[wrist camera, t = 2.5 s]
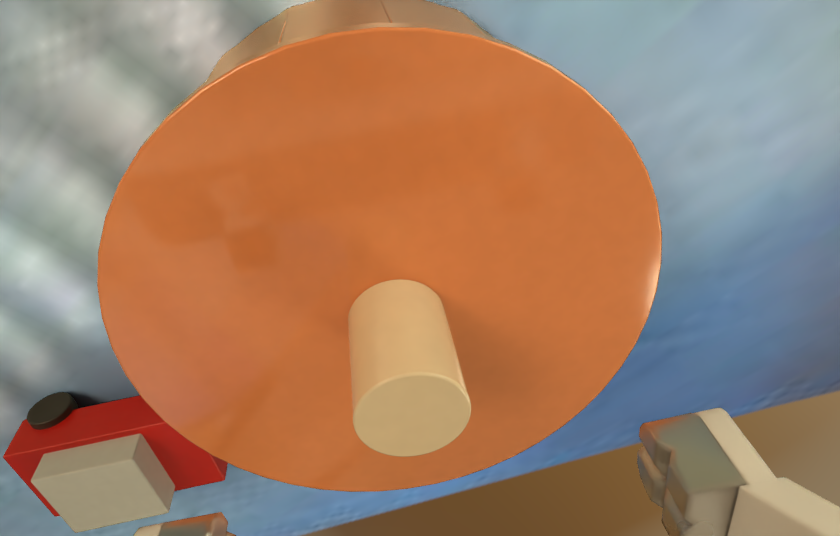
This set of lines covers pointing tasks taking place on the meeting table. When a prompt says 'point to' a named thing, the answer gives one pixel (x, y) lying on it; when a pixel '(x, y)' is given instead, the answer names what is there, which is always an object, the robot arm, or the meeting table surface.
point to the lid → (379, 257)
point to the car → (106, 460)
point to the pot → (342, 22)
